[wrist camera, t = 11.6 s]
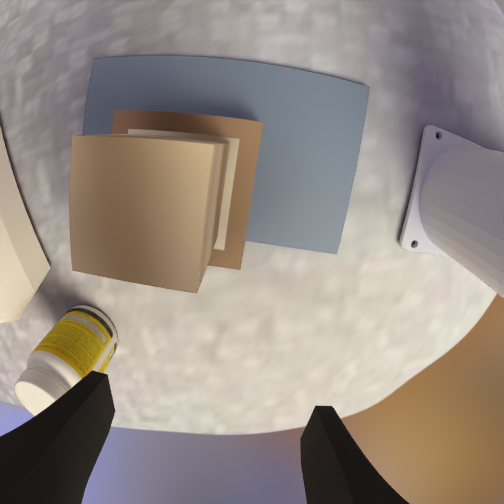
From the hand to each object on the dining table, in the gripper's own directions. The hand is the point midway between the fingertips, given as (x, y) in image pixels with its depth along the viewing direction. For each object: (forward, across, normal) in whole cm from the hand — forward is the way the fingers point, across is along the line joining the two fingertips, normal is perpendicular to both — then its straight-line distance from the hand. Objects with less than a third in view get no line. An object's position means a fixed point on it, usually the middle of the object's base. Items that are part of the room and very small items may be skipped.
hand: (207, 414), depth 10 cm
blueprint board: (+10, +2, -8) cm, 13 cm away
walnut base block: (+10, +3, -6) cm, 12 cm away
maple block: (+7, +3, -6) cm, 10 cm away
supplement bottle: (+11, +10, +6) cm, 16 cm away
